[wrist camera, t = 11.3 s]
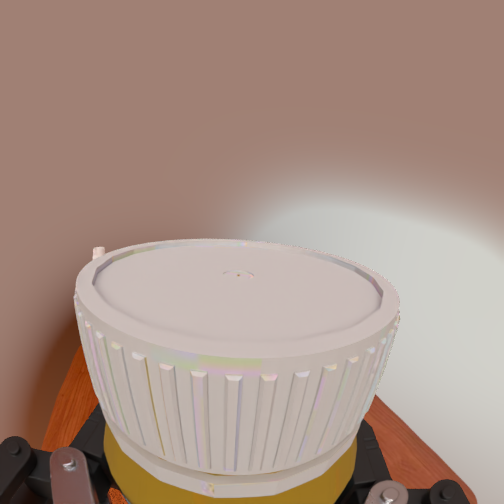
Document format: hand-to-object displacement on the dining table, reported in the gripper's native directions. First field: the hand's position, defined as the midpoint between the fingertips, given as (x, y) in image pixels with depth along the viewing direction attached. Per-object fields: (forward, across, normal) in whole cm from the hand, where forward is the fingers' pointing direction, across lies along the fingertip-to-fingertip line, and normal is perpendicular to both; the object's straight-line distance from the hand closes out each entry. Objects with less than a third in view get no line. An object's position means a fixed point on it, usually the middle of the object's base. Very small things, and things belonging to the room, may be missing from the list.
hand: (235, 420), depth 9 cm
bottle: (-2, 0, -9) cm, 9 cm away
